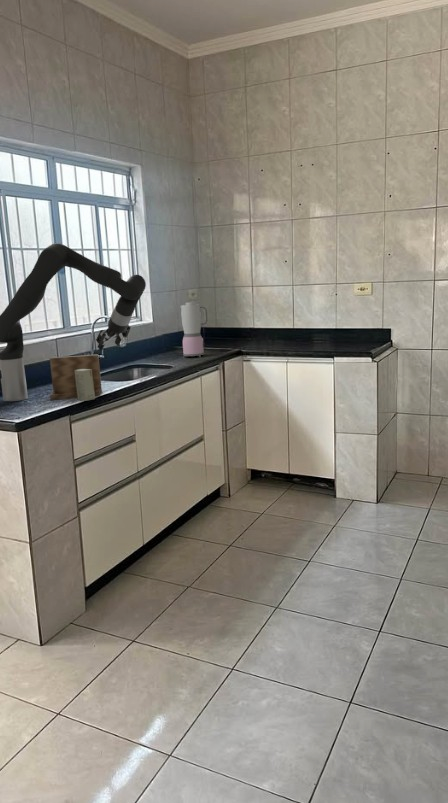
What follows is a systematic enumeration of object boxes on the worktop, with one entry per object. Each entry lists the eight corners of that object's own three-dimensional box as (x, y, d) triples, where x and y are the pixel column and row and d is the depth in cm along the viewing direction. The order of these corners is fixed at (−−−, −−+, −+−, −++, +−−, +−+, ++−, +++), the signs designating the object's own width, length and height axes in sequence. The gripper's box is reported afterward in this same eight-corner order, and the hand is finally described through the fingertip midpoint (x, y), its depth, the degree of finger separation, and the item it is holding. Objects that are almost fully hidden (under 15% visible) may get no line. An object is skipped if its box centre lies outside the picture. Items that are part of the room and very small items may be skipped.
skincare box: (95, 399, 247) (92, 369, 245) (86, 401, 244) (83, 370, 242) (86, 397, 251) (83, 368, 249) (77, 399, 248) (74, 369, 246)
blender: (182, 358, 360) (178, 303, 354) (184, 356, 372) (180, 302, 366) (209, 357, 360) (205, 302, 353) (210, 354, 372) (206, 301, 365)
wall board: (50, 399, 251) (46, 361, 248) (54, 395, 262) (50, 357, 259) (100, 396, 254) (96, 357, 251) (101, 391, 265) (98, 354, 262)
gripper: (129, 308, 245) (116, 336, 256) (100, 315, 236) (88, 343, 247) (139, 321, 243) (127, 348, 254) (111, 329, 233) (99, 357, 244)
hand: (108, 346), depth 250 cm, fingers open, 8 cm apart
